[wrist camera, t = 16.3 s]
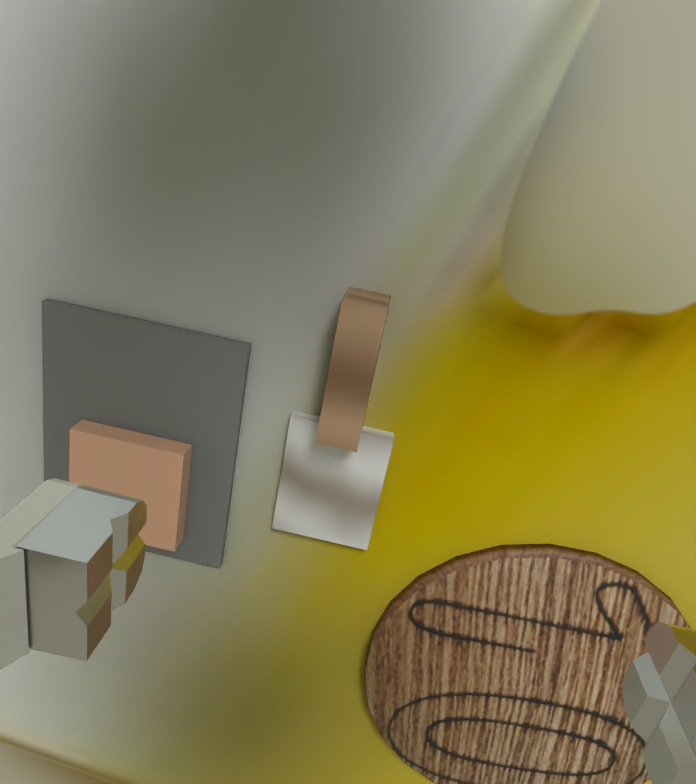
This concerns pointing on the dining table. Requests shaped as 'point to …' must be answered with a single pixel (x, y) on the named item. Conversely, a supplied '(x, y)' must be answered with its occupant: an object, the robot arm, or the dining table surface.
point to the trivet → (515, 667)
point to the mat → (149, 403)
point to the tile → (136, 474)
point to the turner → (339, 438)
